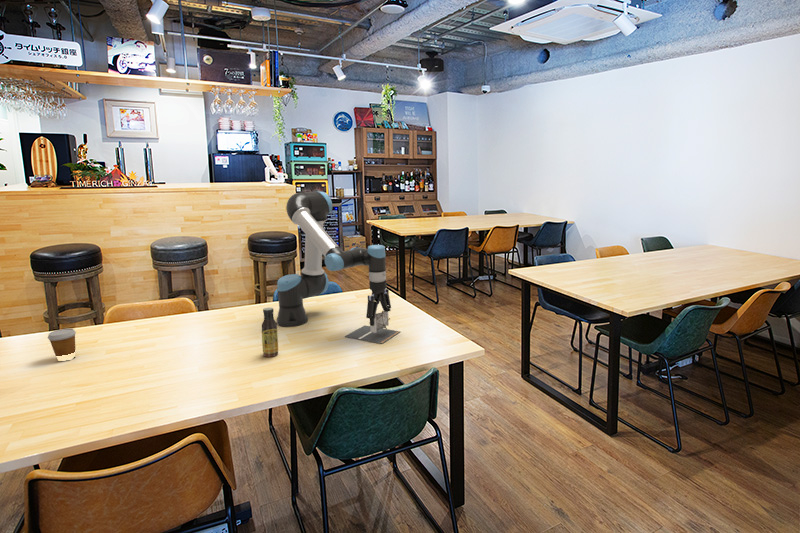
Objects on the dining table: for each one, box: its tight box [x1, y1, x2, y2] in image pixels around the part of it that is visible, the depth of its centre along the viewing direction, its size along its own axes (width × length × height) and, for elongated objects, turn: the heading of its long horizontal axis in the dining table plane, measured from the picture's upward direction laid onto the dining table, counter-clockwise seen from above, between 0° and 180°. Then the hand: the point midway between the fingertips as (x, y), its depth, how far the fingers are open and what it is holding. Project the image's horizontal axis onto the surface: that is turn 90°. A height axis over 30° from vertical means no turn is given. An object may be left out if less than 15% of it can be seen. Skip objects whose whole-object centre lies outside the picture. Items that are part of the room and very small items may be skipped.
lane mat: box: [344, 325, 402, 345], centre depth 208 cm, size 20×16×1 cm
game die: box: [375, 310, 391, 330], centre depth 204 cm, size 9×8×10 cm
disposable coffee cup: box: [47, 328, 77, 357], centre depth 190 cm, size 10×10×12 cm
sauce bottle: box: [261, 307, 279, 358], centre depth 186 cm, size 7×6×20 cm
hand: (379, 328), depth 205 cm, fingers open, 10 cm apart
